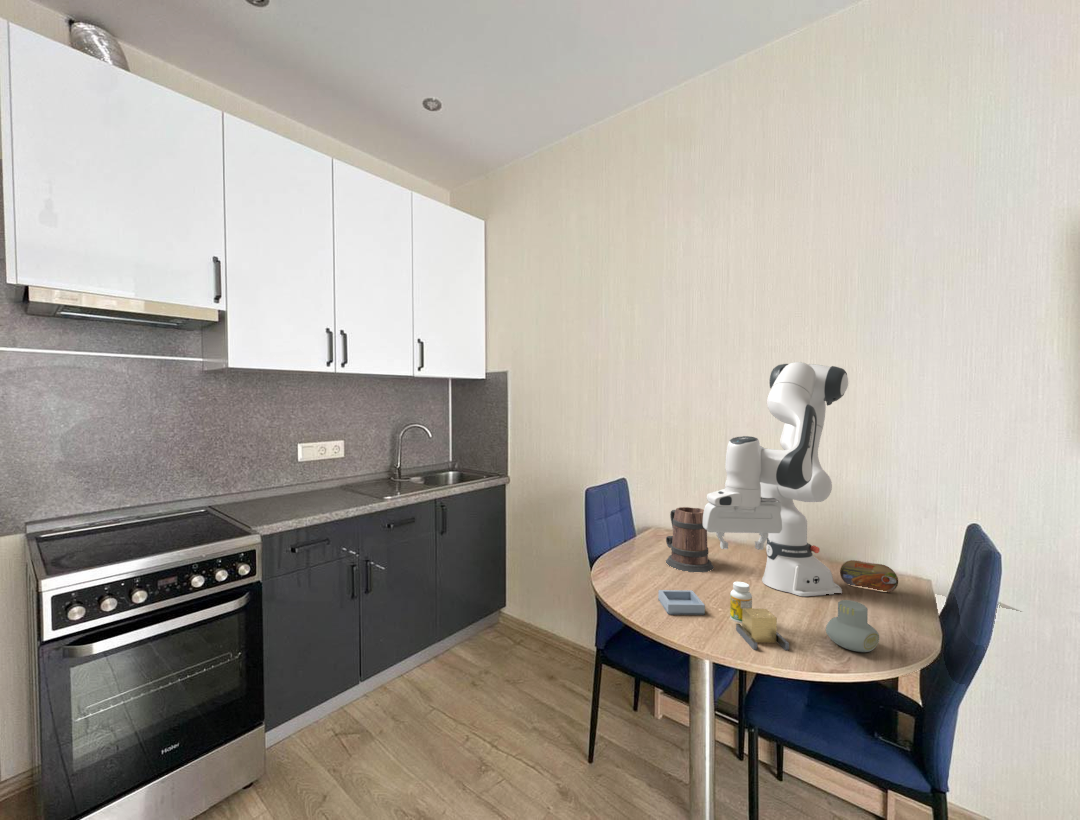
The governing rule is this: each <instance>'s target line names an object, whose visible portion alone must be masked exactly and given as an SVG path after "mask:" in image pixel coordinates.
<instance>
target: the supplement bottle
mask: <svg viewBox="0 0 1080 820" xmlns="http://www.w3.org/2000/svg"><path fill="white" fill-rule="evenodd" d="M729 594H730V599H729V600H730V601H729V602H730V605H729V606H730V607H729V609H730V610H729V611H730V612H729V617H730V619H731V620H732V621H733V622H736V623H738V624H742V614H743V608H748V609H753V595H752V593H751V592H750V584H748V583H747V582H744V581H734V582H733V583H732V590H731V591H730V593H729Z"/></svg>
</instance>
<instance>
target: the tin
mask: <svg viewBox="0 0 1080 820" xmlns="http://www.w3.org/2000/svg"><path fill="white" fill-rule="evenodd" d="M839 575H840V578H841V580H842V582H844V583H845V584H846V585H847V584H850V585H855V586H862V587H868V588H873V589H877V590H883V591H887V592H888V593H891V592H894V591H895V590H896V589H897V588H898V585H899V577H898V575H897V573H896V572H895V571H894V570H893V568H891V567H889V566H887V565H886V564H885V565H884V564H881V563H874V562H867V561H861V560H855V559H853V560H852V559H851V560H847V561H845V562H843V564H841V566H840V568H839Z"/></svg>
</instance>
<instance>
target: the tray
mask: <svg viewBox="0 0 1080 820" xmlns="http://www.w3.org/2000/svg"><path fill="white" fill-rule="evenodd" d="M657 597H658V602H659V601H660V602H659V603H660V605H661V606H662V607H663V609H664V610H665V612H666V613H667V615H670V616H671V615H674V616H685V615H686V616H705V611H706V610H705V609H706V608H705V607H706V605H705V603H704V602H703V601H702V600H701V598H700V597H699V596H698V595H697V594H696V593H695V592H694V591H693V590H691V589H690V590H687V589H683V590H678V589H673V590H671V589H658V596H657Z"/></svg>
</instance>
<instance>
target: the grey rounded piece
mask: <svg viewBox="0 0 1080 820" xmlns="http://www.w3.org/2000/svg"><path fill="white" fill-rule="evenodd" d="M868 613H869V611H868V607H867V606H866V605H865V604H863V603H862V602H859V601H856V600H849V599H843V600H839V601H838V602H837V616H834V617H833V618H831V619H830V620H828V622H827V623H826V626H825V633H826V635H827V636H828V637H829V639H830V640H831V641H832V642H834V643H835V644H836V645H838V646H839V647H842V648H844V649H845V650H848V651H851V652H856V653H868V652H871V651H873V650H874V649H875V648H877V646H878V644H879V642H880V634H879V632H878V631H877V630H876V629H875V628H874V627H873V626H872V625H870V624H869V623H868Z"/></svg>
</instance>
